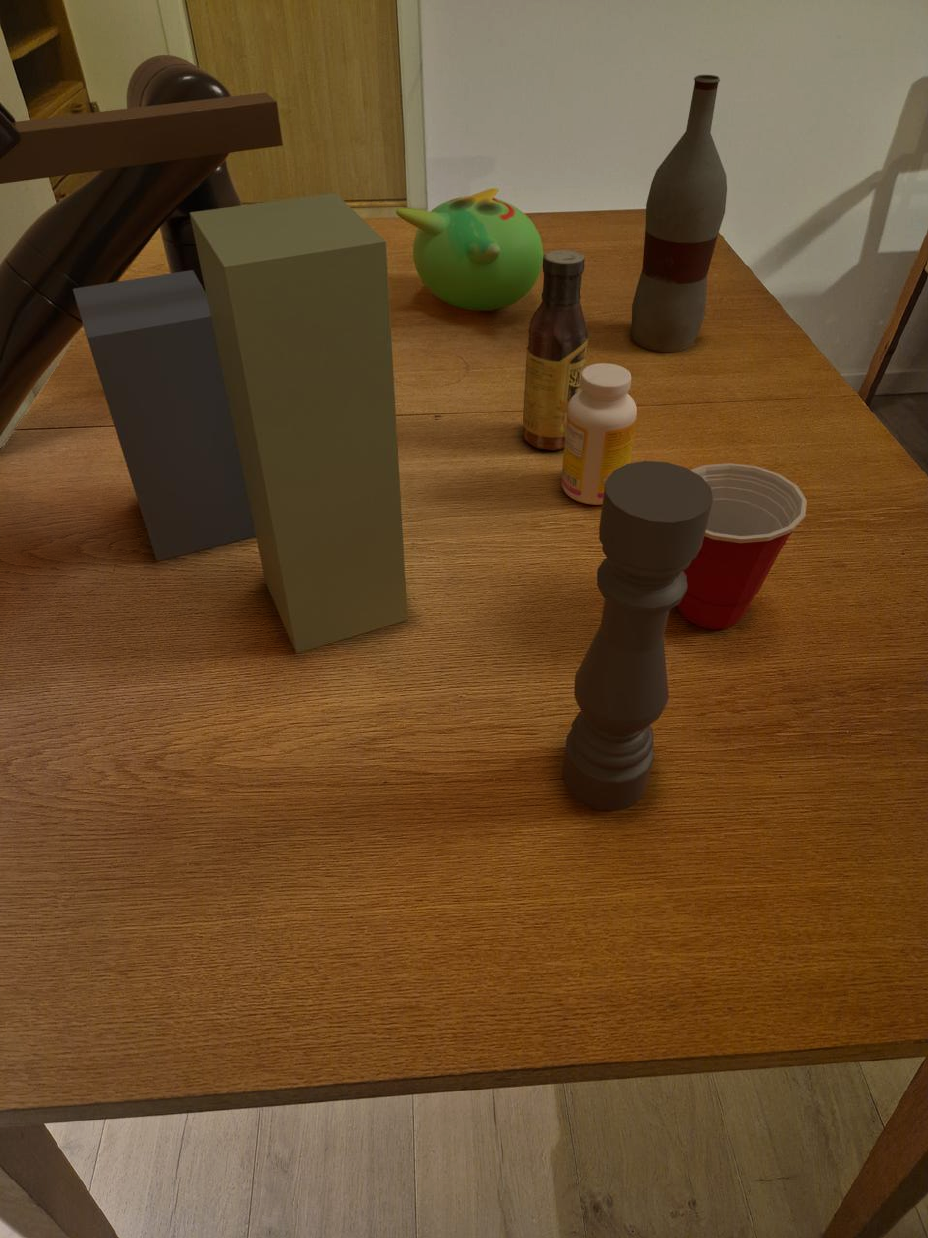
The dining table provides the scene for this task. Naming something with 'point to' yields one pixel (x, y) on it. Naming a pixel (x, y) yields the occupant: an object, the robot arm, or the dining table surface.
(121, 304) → the blue gray rectangular block
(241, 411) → the tall stand
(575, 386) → the sauce bottle
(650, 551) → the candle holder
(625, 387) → the supplement bottle
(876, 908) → the dining table surface
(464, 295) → the toy bird
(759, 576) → the plastic cup
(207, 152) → the bar
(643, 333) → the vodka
